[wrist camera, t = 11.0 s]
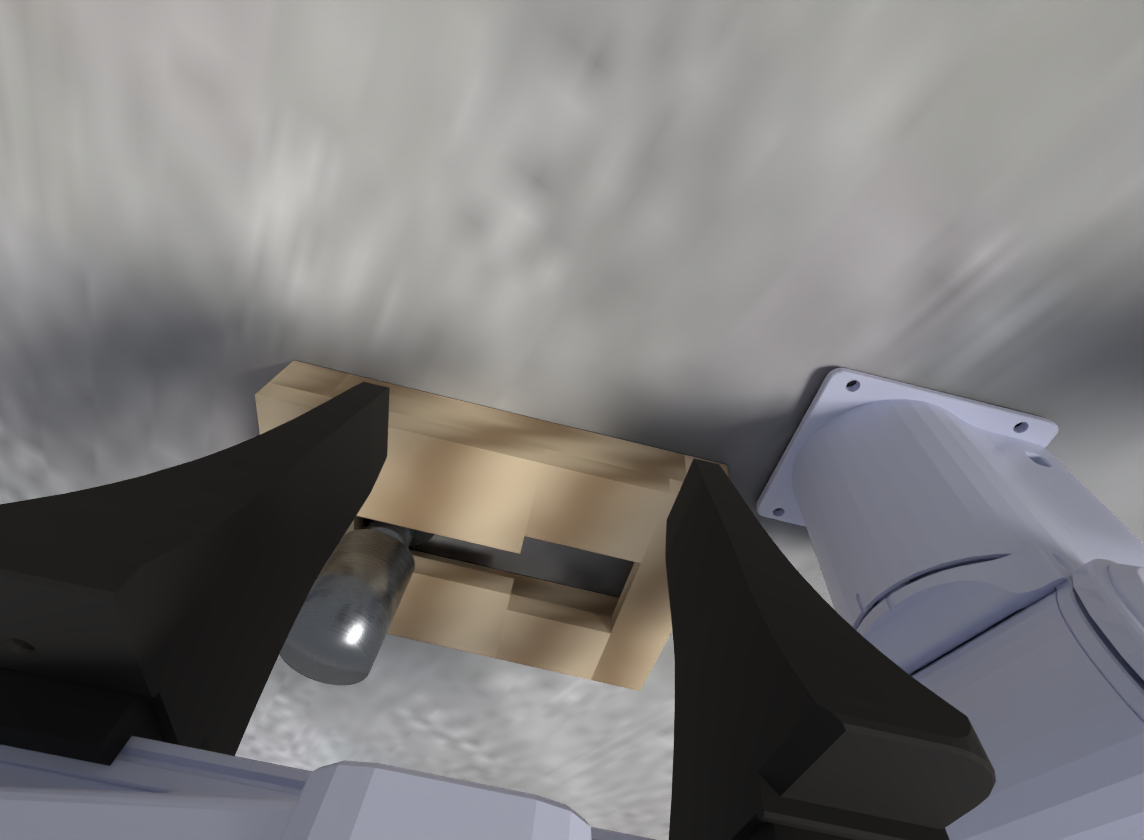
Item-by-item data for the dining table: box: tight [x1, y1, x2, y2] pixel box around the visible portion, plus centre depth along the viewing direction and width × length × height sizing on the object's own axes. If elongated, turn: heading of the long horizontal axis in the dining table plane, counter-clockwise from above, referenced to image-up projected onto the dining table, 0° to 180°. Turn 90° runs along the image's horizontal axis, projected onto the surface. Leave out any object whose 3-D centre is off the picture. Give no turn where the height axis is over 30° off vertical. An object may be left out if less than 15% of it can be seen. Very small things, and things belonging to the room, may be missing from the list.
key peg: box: [280, 517, 434, 685], centre depth 25 cm, size 4×4×9 cm
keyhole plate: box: [255, 361, 730, 691], centre depth 28 cm, size 20×14×3 cm
